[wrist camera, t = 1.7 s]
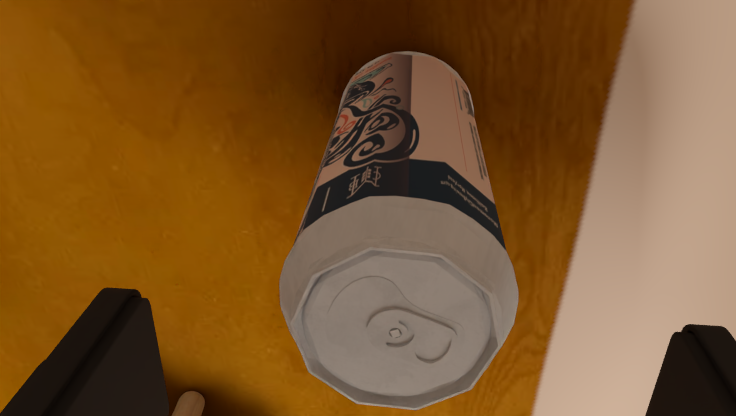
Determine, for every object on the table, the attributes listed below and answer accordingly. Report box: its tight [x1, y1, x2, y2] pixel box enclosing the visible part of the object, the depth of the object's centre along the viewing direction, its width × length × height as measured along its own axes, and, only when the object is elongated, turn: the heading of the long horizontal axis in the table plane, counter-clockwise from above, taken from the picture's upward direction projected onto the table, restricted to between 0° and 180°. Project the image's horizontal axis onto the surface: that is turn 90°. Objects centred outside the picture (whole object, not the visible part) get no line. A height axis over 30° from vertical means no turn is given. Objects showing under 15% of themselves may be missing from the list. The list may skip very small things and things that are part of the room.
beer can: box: [279, 51, 518, 410], centre depth 16 cm, size 5×5×12 cm
